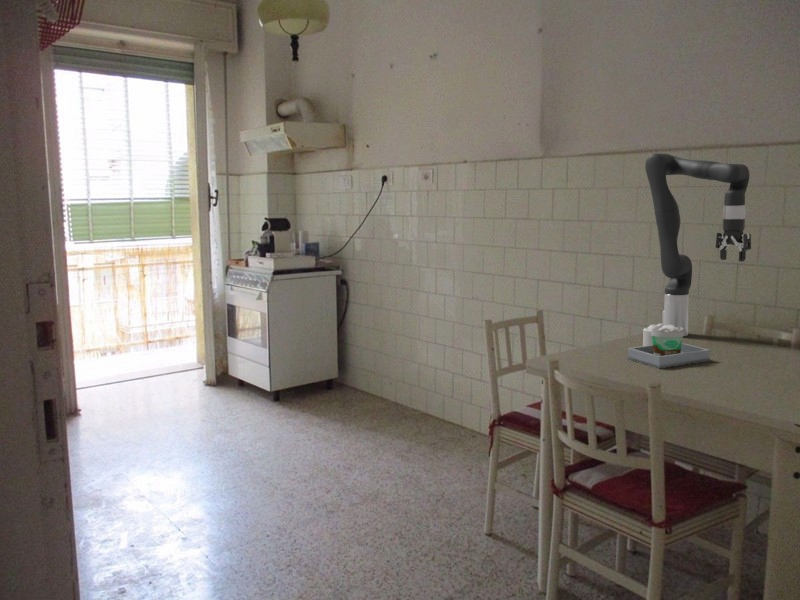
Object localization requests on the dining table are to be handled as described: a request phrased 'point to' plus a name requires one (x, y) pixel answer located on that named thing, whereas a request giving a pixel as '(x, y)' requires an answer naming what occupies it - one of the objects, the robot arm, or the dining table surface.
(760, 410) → the dining table surface
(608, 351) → the dining table surface
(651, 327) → the lumpy-topped squat cylinder
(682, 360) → the grey tray
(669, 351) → the food container
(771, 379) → the dining table surface
